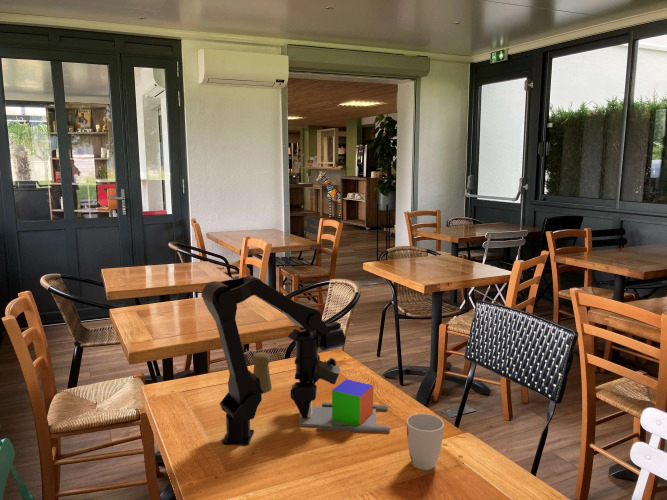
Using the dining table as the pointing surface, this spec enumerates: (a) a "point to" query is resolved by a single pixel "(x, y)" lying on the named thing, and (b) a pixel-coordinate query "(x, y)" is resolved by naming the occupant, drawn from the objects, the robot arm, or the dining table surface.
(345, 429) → the lane rails
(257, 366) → the cork
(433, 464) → the cup
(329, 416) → the grey panel with knob
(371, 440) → the dining table surface
